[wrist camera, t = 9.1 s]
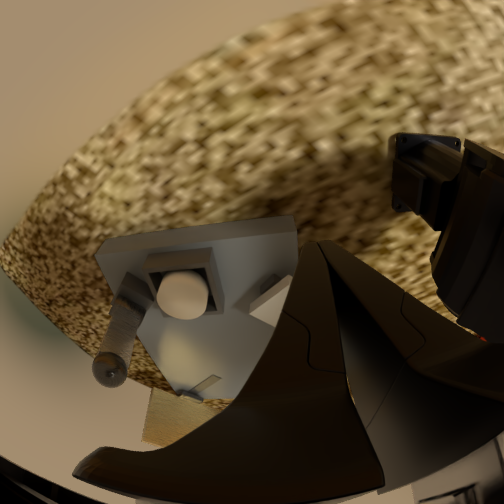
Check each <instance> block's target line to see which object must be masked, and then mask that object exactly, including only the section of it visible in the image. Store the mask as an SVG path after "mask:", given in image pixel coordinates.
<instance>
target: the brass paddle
mask: <svg viewBox="0 0 504 504" xmlns="http://www.w3.org/2000/svg"><path fill="white" fill-rule="evenodd" d="M202 402H203V398H202V397H200V396H197V395H194V394H191V393H189V392H186V391H182V392H180V393H179V394H177V395H173V394H171V393H168V392H166V391H163V390H161V389H158V388H156V387H154V388H153V389H152V390H151V395H150V399H149V404H148V409H147V414H146V419H145V424H144V429H143V435H142V440H141V441H142V442H145V443H148V444H151V445H154V446H157V447H161V448H164V447H166V446H168V445H170V444H172V443H174V442H175V441H177V440H179V439H180V438H182V437H183V436H185V435H187V434H188V433H190V432H191V431H193V430H194V429H196V428H197V427H199V426H200V425H202V424H203V423H205V422H206V421H208V420H209V419H211V418H212V417H214V416H215V415H217V414H218V413H219V412H221V411H220V410H217V409H214V408H211V407H207V406H204V405H201V404H200V403H202Z"/></svg>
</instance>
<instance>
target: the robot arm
mask: <svg viewBox="0 0 504 504" xmlns="http://www.w3.org/2000/svg"><path fill="white" fill-rule="evenodd" d="M402 137H404V141H403V142H402V141H401V139H402ZM455 142H456V145H455ZM464 147H465V149H464V154H462V153H460V150H461V141H460V139H459V138H456V137H452V136H443V135H432V134H420V133H403V132H402V133H399V134H398V135H397V137H396V155H395V160H394V162H393V177H392V191H393V196H392V208H393V210H394V211H396V212H407V211H413V212H414V213H415V214H416V215H420V216H421V217H422V218H423V219H424V220H425V221H426V223H427V224H428V225H429V226H430V227H431V228H432V229H433V230H434V231H441V234H440V236H439V239H438V242H437V244H436V247H435V250H434V251H433V252H432V253H431V256H430V262H431V270H432V277H433V279H434V281H435V283H436V285H437V287H438V289H437V291H436V293H437V295H438V297H439V299H440V300H441V301H442V302H443V304H444V306H445V307H446V308H447V309H448V310H449V311H450V312H451V313H452V314H453V315H454V316H456V317H457V320H456V322H457V324H458V325H460V326H463V327H465V328H468V329H470V330H472V331H474V332H475V333H477V334H478V335H480V336H481V337H483V338H484V339H485V340H486V341H484V340H482V339H479V338H478V337H476V336H474V335H473V334H471V333H469V332H468V331H466V330H465V329H463V328H461V327H460V326H458V325H457V324H455V323H453V322H452V321H450V320H448V319H447V318H445V317H443V316H442V315H440V314H439V313H437V312H436V311H434V310H432V309H431V308H429V307H428V306H426V305H425V304H423V303H422V302H420V301H419V300H418V299H416V298H415V297H413V296H412V295H411V294H409V293H408V292H405V291H404V290H403V289H402V288H401V287H399V286H398V285H396V284H395V283H393V282H392V281H391V280H389V279H388V278H386V277H385V276H383V275H382V274H381V273H379V272H378V271H376V270H375V269H373V268H372V267H370V266H369V265H367V264H366V263H364V262H363V261H361V260H360V259H358V258H357V257H355V256H354V255H352V254H351V253H349V252H348V251H346V250H345V249H343V248H342V247H340V246H339V245H337V244H336V243H334V242H333V241H331V240H324V241H318V242H309V243H304V244H303V246H302V250H301V253H300V256H299V259H298V262H297V265H296V268H295V272H294V275H293V278H292V281H291V284H290V287H289V290H288V293H287V296H286V299H285V302H284V305H283V308H282V310H281V313H280V316H279V319H278V321H277V324H276V327H275V329H274V331H273V334H272V336H271V338H270V340H269V342H268V344H267V346H266V348H265V350H264V352H263V354H262V355H261V357H260V359H259V360H258V362H257V364H256V366H255V367H254V369H253V371H252V372H251V374H250V376H249V377H248V379H247V381H246V382H245V384H244V386H243V387H242V389H241V390H240V392H239V394H238V395H237V396H236V398H235V399H234V400H233V401H232V402H231V403H230V404H229V405H228V406H227V407H226V408H225V409H224V410H222V411H221V412H219V413H218V414H217V415H215V416H214V417H212V418H211V419H209V420H208V421H206V422H205V423H203V424H202V425H200V426H199V427H197V428H196V429H194V430H193V431H191V432H190V433H188V434H187V435H185V436H183V437H182V438H180V439H179V440H177V441H175V442H174V443H172V444H170V445H168V446H166V447H164V448H161V449H157V450H154V451H146V452H139V451H130V450H125V449H119V448H114V447H106V446H105V447H99V448H98V449H96V450H95V451H93V452H92V453H91V454H89V455H88V456H86V457H85V458H84V459H83V460H82V461H80V462H79V464H78V465H77V466H76V467H75V469H74V471H73V473H72V476H73V477H75V478H77V479H79V480H81V481H84V482H86V483H89V484H92V485H94V486H97V487H99V488H102V489H105V490H108V491H111V492H114V493H117V494H121V495H124V496H127V497H131V498H134V499H136V502H135V504H337V503H341V502H344V501H347V500H350V499H353V498H356V497H359V496H362V495H365V494H367V493H370V492H373V491H376V490H377V493H378V495H380V494H383V493H386V492H389V491H392V490H395V489H398V488H401V487H404V486H407V485H409V484H411V487H412V492H413V497H414V503H415V504H504V154H503V153H501V152H498V151H496V150H494V149H491V148H489V147H487V146H484V145H482V144H479V143H476V142H474V141H471V140H469V139H466V138H465V141H464ZM398 204H399V206H398V207H396V206H397V205H398ZM404 292H405V293H404ZM346 374H347V376H346ZM347 378H348V381H349V384H350V388H351V391H352V395H353V398H354V402H355V405H356V407H355V405H354V402H353V400H352V398H351V395H350V392H349V388H348V383H347ZM0 504H107V503H104V502H101V501H98V500H95V499H93V498H90V497H87V496H85V495H82V494H79V493H77V492H74V491H72V490H70V489H68V488H65V487H63V486H60V485H58V484H56V483H54V482H52V481H50V480H47V479H45V478H43V477H41V476H39V475H37V474H35V473H32V472H30V471H29V470H27V469H25V468H23V467H21V466H19V465H17V464H15V463H14V462H12V461H10V460H8V459H7V458H5V457H3V456H2V455H0Z"/></svg>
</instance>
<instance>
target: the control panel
mask: <svg viewBox="0 0 504 504" xmlns="http://www.w3.org/2000/svg"><path fill="white" fill-rule="evenodd" d="M94 256H95V258H96V260H97V262H98V264H99V266H100V269H101V271H102V273H103V275H104V277H105V279H106V281H107V283H108V284H109V286H110V288H111V290H112V292H113V294H114V297H113V300H112V302H111V305H113V303H114V301H115V299H116V297H117V295H118V294H119V295H121V296H123V297H124V298H126V299H128V300H130V301H131V302H133V303H135V304H137V305H139V306H140V307H142V308H144V309H146V314H145V317H144V319H143V321H142V323H141V325H140V327H139V328H138V329H137V333H136V334H137V336H138V337H139V339H140V341H141V342H142V344H143V345H144V347H145V349H146V350H147V352H148V353H149V355H150V356H151V358H152V359H153V361H154V362H155V364H156V365H157V367H158V368H159V370H160V371H161V372H162V374H163V375H164V377H165V378H166V380H167V381H168V382H169V384H170V385H171V387H172V388H173V389H174V391H175V392H176V393H177V394H179V393H180V392H182V391H186V392H189V393H191V394H194V395H197V396H200V397H202V398H203V399H225V398H236V396H237V395H238V394H239V392H240V390H241V389H242V387H243V386H244V384H245V382H246V381H247V379H248V377H249V376H250V374H251V372H252V371H253V369H254V367H255V366H256V364H257V362H258V360H259V359H260V357H261V355H262V354H263V352H264V350H265V348H266V346H267V344H268V342H269V340H270V338H271V336H272V334H273V331H274V329H275V327H274V326H272V325H270V324H268V323H266V322H264V321H262V320H260V319H258V318H256V317H254V316H252V315H250V314H249V310H250V304H251V303H252V302H253V301H255V300H256V299H257V298H259V297H260V296H261V295H263V294H264V293H265V292H266V291H268V290H269V289H270V288H272V287H273V286H274V285H276V284H277V283H278V282H280V281H281V280H282V279H283V278H285V277H286V276H287V275H290V276H292V277H293V275H294V272H295V268H296V265H297V262H298V239H297V229H296V225H295V222H294V219H293V215H286V216H277V217H267V218H258V219H249V220H241V221H232V222H224V223H216V224H208V225H200V226H193V227H185V228H178V229H170V230H163V231H156V232H150V233H143V234H136V235H130V236H123V237H117V238H110V239H106V240H105V241H104V243H103V244H102V245H101V247H100V248H99V250H98V251H97V252H96V254H95V255H94ZM183 269H190V270H193V271H195V272H197V273H199V274H200V275H201V276H203V278H204V279H205V280H206V281H207V283H208V286H209V293H208V299H207V305H206V310H205V312H204V313H203V314H202V315H201V316H199V317H197V318H195V319H189V320H184V319H178V318H175V317H172V316H170V315H168V314H167V313H165V312H164V311H163V310H162V309H161V308H160V306H159V305H158V302H157V293H158V290H159V287H160V284H161V282H162V279H163V277H164V275H165V274H166V273H167V272H169V271H173V270H183Z"/></svg>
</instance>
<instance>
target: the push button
mask: <svg viewBox="0 0 504 504" xmlns="http://www.w3.org/2000/svg"><path fill="white" fill-rule="evenodd" d="M208 293H209V286H208V283H207V281H206V280H205V279H204V278H203V276H201V275H200V274H199V273H197V272H195V271H193V270H190V269H183V270H173V271H169V272H167V273H166V274H165V275H164V277H163V279H162V282H161V284H160V287H159V290H158V293H157V302H158V305H159V306H160V308H161V309H162V310H163V311H164V312H165V313H167V314H168V315H170V316H172V317H175V318H178V319H184V320H189V319H195V318H197V317H199V316H201V315H202V314H203V313H204V312H205V310H206V305H207V299H208Z"/></svg>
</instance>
